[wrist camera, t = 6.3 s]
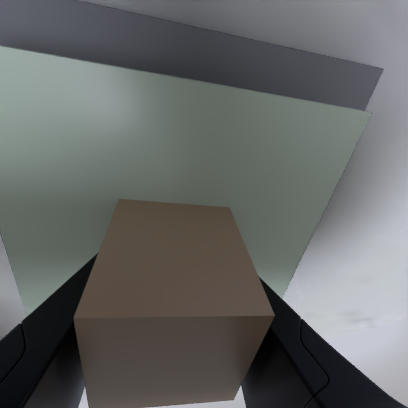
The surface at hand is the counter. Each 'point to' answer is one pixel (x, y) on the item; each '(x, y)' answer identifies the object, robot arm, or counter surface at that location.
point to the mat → (182, 51)
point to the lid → (161, 215)
